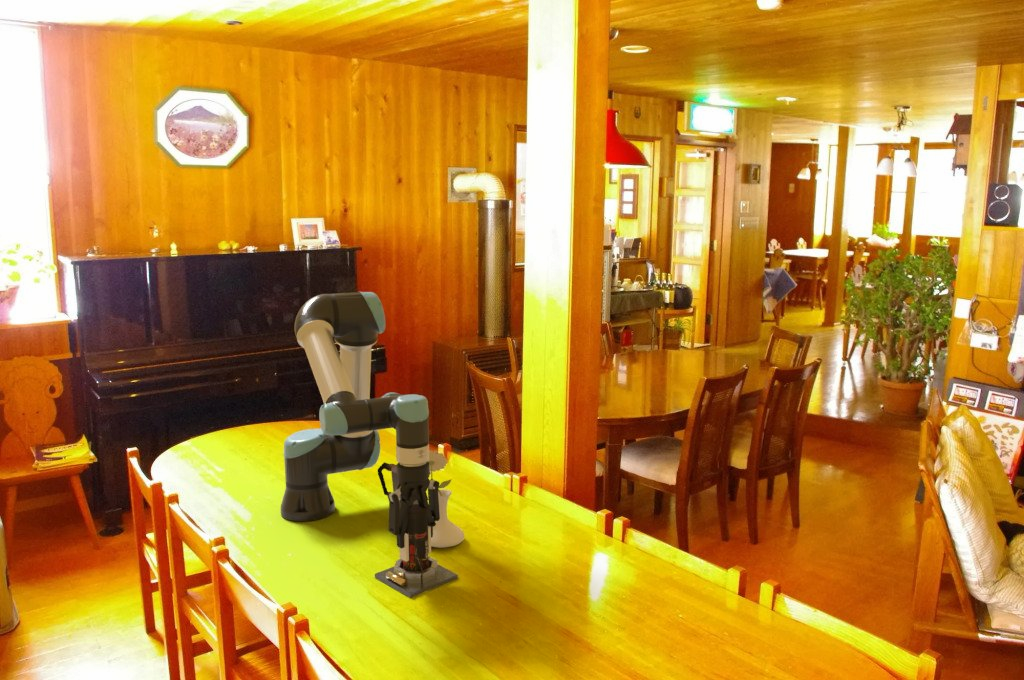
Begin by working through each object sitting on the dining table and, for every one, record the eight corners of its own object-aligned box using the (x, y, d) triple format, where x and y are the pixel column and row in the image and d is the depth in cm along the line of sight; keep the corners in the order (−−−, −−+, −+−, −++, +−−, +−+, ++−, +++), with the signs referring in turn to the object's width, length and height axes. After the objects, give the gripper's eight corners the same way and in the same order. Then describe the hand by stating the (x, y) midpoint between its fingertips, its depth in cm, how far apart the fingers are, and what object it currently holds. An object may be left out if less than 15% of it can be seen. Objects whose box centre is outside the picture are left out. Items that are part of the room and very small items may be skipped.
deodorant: (403, 563, 200) (402, 504, 197) (428, 562, 201) (427, 503, 198) (402, 574, 194) (401, 514, 192) (428, 573, 195) (427, 513, 192)
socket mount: (374, 577, 198) (374, 563, 197) (421, 559, 208) (421, 546, 207) (410, 598, 188) (409, 583, 188) (457, 578, 198) (457, 564, 197)
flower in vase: (471, 537, 221) (470, 446, 217) (454, 554, 211) (453, 460, 206) (426, 530, 225) (424, 442, 221) (408, 547, 215) (405, 454, 210)
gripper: (389, 475, 184) (392, 572, 188) (454, 456, 197) (456, 548, 201) (369, 467, 189) (373, 562, 193) (435, 449, 202) (436, 539, 206)
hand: (415, 555), depth 197 cm, fingers closed on deodorant, 6 cm apart
